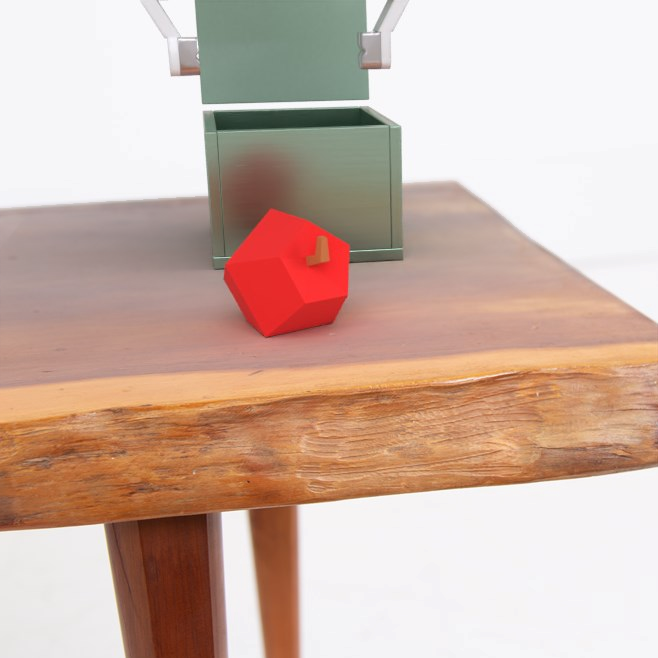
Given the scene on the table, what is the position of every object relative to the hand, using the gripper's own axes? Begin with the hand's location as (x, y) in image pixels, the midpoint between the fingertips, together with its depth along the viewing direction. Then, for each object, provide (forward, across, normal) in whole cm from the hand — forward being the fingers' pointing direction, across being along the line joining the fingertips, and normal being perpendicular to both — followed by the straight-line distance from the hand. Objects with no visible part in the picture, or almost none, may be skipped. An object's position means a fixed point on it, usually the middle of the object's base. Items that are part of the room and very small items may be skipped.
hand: (281, 72), depth 56 cm
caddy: (+13, -2, -22) cm, 26 cm away
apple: (+13, 0, 0) cm, 13 cm away
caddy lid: (-4, -2, -29) cm, 30 cm away
